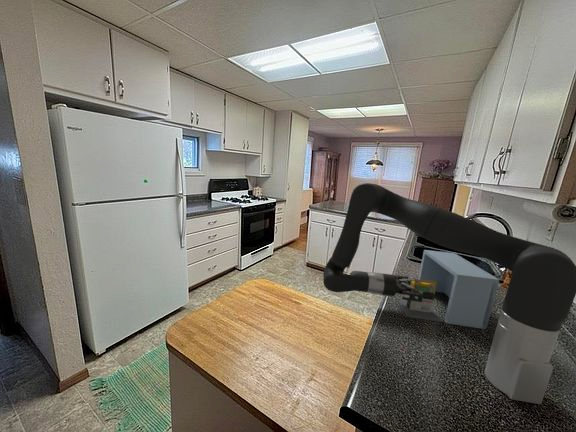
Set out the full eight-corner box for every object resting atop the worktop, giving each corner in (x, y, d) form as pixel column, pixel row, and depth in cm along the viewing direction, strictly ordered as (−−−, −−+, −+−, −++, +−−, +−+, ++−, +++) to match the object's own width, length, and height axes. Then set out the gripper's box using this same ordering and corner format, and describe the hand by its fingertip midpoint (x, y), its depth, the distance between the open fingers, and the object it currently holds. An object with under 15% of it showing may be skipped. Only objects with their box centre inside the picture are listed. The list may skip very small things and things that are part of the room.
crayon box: (427, 308, 85) (433, 278, 83) (431, 313, 82) (437, 282, 80) (406, 305, 86) (411, 275, 84) (409, 310, 83) (415, 279, 81)
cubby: (486, 329, 77) (499, 279, 73) (446, 323, 78) (458, 274, 75) (446, 291, 101) (454, 253, 98) (416, 287, 102) (424, 249, 99)
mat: (442, 321, 79) (442, 320, 79) (407, 316, 80) (407, 315, 80) (428, 305, 88) (428, 304, 88) (397, 301, 90) (398, 299, 90)
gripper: (387, 283, 77) (440, 290, 75) (376, 266, 91) (421, 271, 89) (383, 304, 78) (435, 311, 76) (373, 284, 92) (417, 290, 90)
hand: (428, 290), depth 82 cm, fingers open, 8 cm apart
